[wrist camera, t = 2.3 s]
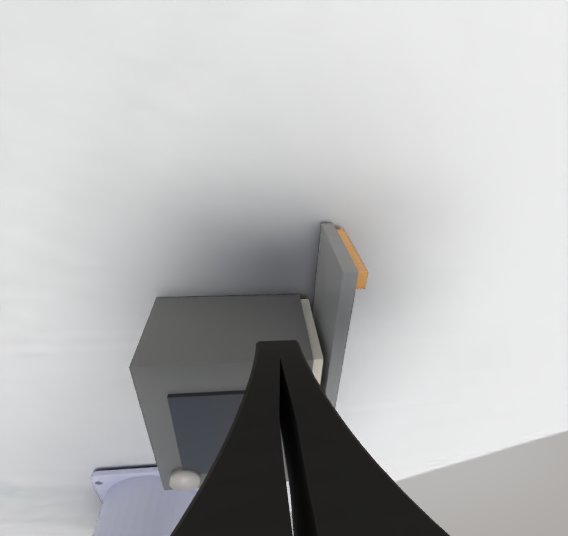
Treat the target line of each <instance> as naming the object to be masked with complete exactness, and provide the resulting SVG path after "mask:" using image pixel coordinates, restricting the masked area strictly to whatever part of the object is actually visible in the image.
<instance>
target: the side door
mask: <svg viewBox="0 0 568 536" xmlns="http://www.w3.org/2000/svg"><path fill="white" fill-rule="evenodd" d="M367 275H368V271H367V269H366V267H365V266H364V264H363V262H362V260H361V259H360V257H359V255H358V253H357V251H356V250H355V248H354V246H353V244H352V243H351V241H350V239H349V237H348V236H347V234H346V232H345V230H344V229H336V228H335V226H334V224H333V223H321V232H320V243H319V253H318V263H317V273H316V283H315V293H314V304H313V314H312V315H313V319H314V323H315V327H316V331H317V335H318V339H319V343H320V347H321V351H322V355H323V366H322V374H321V382H320V386H321V388H322V389H323V391H324V393H325V394H326V396H327V398H328V399H329V401H330V402H331V404H332V405H333V407H334V408H335V406H336V400H337V394H338V388H339V382H340V377H341V371H342V365H343V359H344V354H345V348H346V342H347V336H348V330H349V325H350V319H351V313H352V307H353V301H354V296H355V290H356V289H365V286H366V281H367Z"/></svg>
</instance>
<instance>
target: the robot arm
mask: <svg viewBox="0 0 568 536" xmlns="http://www.w3.org/2000/svg"><path fill="white" fill-rule="evenodd" d="M280 429H281V432H280ZM281 436H282V441H281ZM282 442H283V448H284V454H285V460H286V467H287V473H288V479H289V486H290V495H291V506H292V518H293V531H294V536H450V535H449V534H447V533H446V532H445V531H444V530H443V529H442V528H441V527H440V526H439V525H437V524H436V523H435V522H434V521H433V520H432V519H431V518H430V517H429V516H428V515H427V514H426V513H425V512H424V511H423V510H422V509H421V508H420V507H418V505H416V504H415V503H414V501H412V499H410V498H409V497H408V496H407V495H406V494H405V493H404V492H403V491H402V490H401V488H400V487H399V486H398V485H397V484H396V483H395V482H394V481H393V480H392V479H391V478H390V476H389V475H388V474H387V473H386V472H385V471H384V470H383V469H382V468H381V467H380V466H379V465H378V464H377V462H376V461H375V460H374V459H373V458H372V457H371V455H370V454H369V453H368V452H367V451H366V449H365V448H364V447H363V446H362V445H361V443H360V442H359V441H358V440H357V438H356V437H355V436H354V435H353V433H352V432H351V431H350V429H349V428H348V427H347V425H346V424H345V423H344V421H343V420H342V418H341V417H340V416H339V414H338V413H337V411H336V410H335V408H334V407H333V405H332V404H331V402H330V401H329V399H328V398H327V396H326V394H325V393H324V391H323V389H322V388H321V386H320V384H319V383H318V381H317V379H316V378H315V376H314V374H313V372H312V370H311V368H310V367H309V365H308V363H307V361H306V359H305V357H304V354H303V352H302V350H301V347H300V345H299V342H297V341H296V340H279V341H259V342H258V343H256V350H255V357H254V362H253V366H252V370H251V374H250V377H249V380H248V383H247V387H246V390H245V393H244V396H243V398H242V401H241V404H240V406H239V409H238V411H237V414H236V416H235V419H234V421H233V423H232V426H231V428H230V430H229V432H228V435H227V437H226V439H225V441H224V443H223V445H222V447H221V449H220V451H219V453H218V455H217V457H216V459H215V461H214V463H213V465H212V466H211V468H210V470H209V472H208V474H207V476H206V477H205V479H204V481H203V483H202V485H201V486H200V488H196V489H194V490H192V491H185V492H183V491H177V490H164V488H163V485H162V481H161V478H160V474H159V471H158V467H149V468H134V469H120V470H105V471H95V472H93V473H92V476H91V481H92V483H93V485H94V487H95V489H96V491H97V493H98V496H99V498H100V500H101V502H102V504H103V505H102V508H101V511H100V514H99V517H98V520H97V523H96V526H95V529H94V532H93V535H92V536H293V535H292V528H291V519H290V511H289V503H288V495H287V487H286V478H285V469H284V460H283V451H282Z"/></svg>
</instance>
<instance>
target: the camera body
mask: <svg viewBox="0 0 568 536" xmlns="http://www.w3.org/2000/svg"><path fill="white" fill-rule="evenodd" d="M279 340H296V341H297V342H299V345H300V347H301V350H302V352H303V354H304V357H305V359H306V361H307V363H308V365H309V367H310V368H311V370H312V372H313V374H314V376H315V378H316V379H317V381H318V383H319V384H320V382H321V374H322V366H323V355H322V351H321V347H320V343H319V339H318V335H317V331H316V327H315V323H314V319H313V315H312V311H311V307H310V303H309V299H300V295H299V294H289V295H246V296H204V297H161V298H156V300H155V303H154V305H153V308H152V310H151V313H150V316H149V318H148V321H147V323H146V326H145V328H144V331H143V333H142V336H141V339H140V341H139V344H138V346H137V349H136V351H135V354H134V356H133V359H132V362H131V364H130V367H129V368H130V372H131V375H132V379H133V383H134V386H135V390H136V393H137V397H138V400H139V404H140V407H141V411H142V414H143V418H144V421H145V425H146V428H147V432H148V435H149V439H150V442H151V446H152V450H153V453H154V457H155V460H156V464H157V467H158V471H159V474H160V478H161V481H162V485H163V488H164V490H177V491H183V492H185V491H192V490H194V489H196V488H200V486H201V485H202V483H203V481H204V479H205V477H206V476H207V474H208V472H209V470H210V468H211V466H212V465H213V463H214V461H215V459H216V457H217V455H218V453H219V451H220V449H221V447H222V445H223V443H224V441H225V439H226V437H227V435H228V432H229V430H230V428H231V426H232V423H233V421H234V419H235V416H236V414H237V411H238V409H239V406H240V404H241V401H242V398H243V396H244V393H245V390H246V387H247V383H248V380H249V377H250V374H251V370H252V366H253V362H254V357H255V350H256V343H258V342H259V341H279ZM280 432H281V429H280ZM281 441H282V436H281ZM282 451H283V460H284V469H285V478H286V481H289V479H288V473H287V467H286V460H285V454H284V448H283V442H282Z"/></svg>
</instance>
